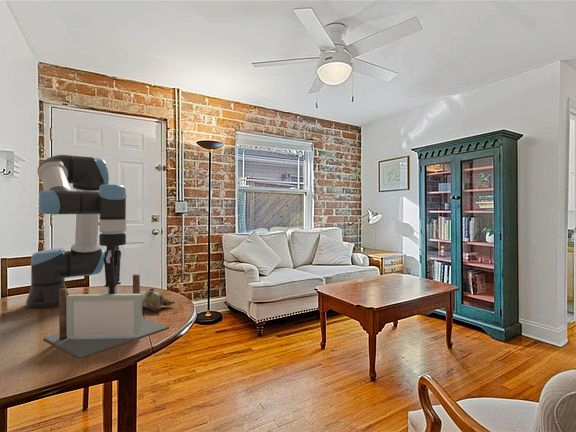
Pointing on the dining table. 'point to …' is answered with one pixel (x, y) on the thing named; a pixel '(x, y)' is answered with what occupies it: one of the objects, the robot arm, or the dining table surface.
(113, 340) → the mat
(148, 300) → the ceramic sculpture
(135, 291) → the gate posts
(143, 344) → the dining table surface
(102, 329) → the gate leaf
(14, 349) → the dining table surface
